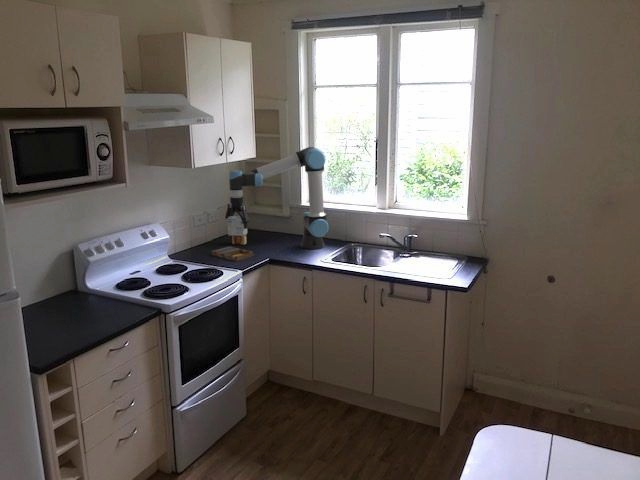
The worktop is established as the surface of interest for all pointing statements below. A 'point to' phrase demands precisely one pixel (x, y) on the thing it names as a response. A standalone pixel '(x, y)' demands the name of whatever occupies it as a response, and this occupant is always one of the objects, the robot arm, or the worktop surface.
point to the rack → (232, 253)
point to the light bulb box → (235, 226)
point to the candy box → (239, 239)
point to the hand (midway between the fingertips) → (237, 232)
